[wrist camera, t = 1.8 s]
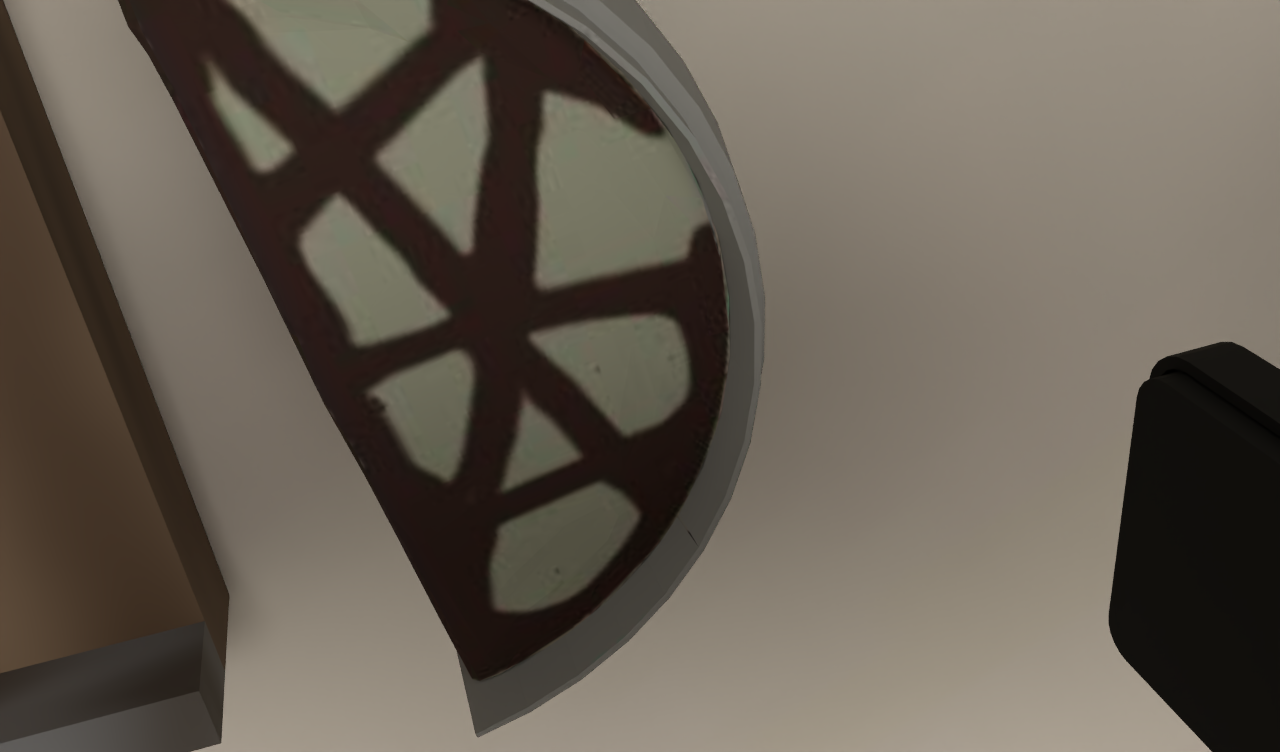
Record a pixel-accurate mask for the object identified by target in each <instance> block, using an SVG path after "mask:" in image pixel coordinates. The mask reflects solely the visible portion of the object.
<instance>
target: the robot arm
mask: <svg viewBox="0 0 1280 752" xmlns="http://www.w3.org/2000/svg"><path fill="white" fill-rule="evenodd" d="M1109 627H1110V632H1111V635H1112V638H1113V640H1114V643H1115V645H1116V647H1117V648H1118V650H1119V652H1120V653H1121V655H1122V656H1123V657H1124V659H1125V660H1126V661H1127V662H1128V663H1129V664H1130V665H1131V666H1132V667H1133V668H1134V669H1135V671H1136V672H1137V673H1138V674H1139V675H1140V676H1141V677H1142V678H1143V679H1144V680H1145V681H1146V682H1147V683H1148V684H1149V685H1150V686H1151V687H1152V689H1153V690H1154V691H1155V692H1156V693H1157V694H1158V695H1159V696H1160V697H1161V698H1162V699H1163V700H1164V701H1165V702H1166V703H1167V704H1168V705H1169V707H1170V708H1171V709H1172V710H1173V711H1174V712H1175V713H1176V714H1177V715H1178V716H1179V717H1180V718H1181V719H1182V720H1183V721H1184V722H1185V723H1186V725H1187V726H1188V727H1189V728H1190V729H1191V730H1192V731H1193V732H1194V733H1195V734H1196V735H1197V736H1198V737H1199V738H1200V739H1201V740H1202V741H1203V743H1204V744H1205V745H1206V746H1207V747H1208V748H1209V749H1210V750H1211V751H1212V752H1280V369H1278V368H1276V367H1275V366H1273V365H1272V364H1270V363H1268V362H1267V361H1265V360H1264V359H1262V358H1260V357H1259V356H1257V355H1256V354H1254V353H1252V352H1251V351H1249V350H1248V349H1246V348H1244V347H1242V346H1240V345H1238V344H1235V343H1233V342H1219V343H1216V344H1212V345H1208V346H1204V347H1201V348H1197V349H1193V350H1190V351H1186V352H1182V353H1178V354H1175V355H1171V356H1167V357H1165V358H1163V359H1161V360H1159V361H1158V362H1157V364H1156V365H1155V366H1154V368H1153V369H1152V372H1151V375H1150V379H1149V380H1147V381H1145V382H1144V383H1143V384H1142V385H1141V387H1140V388H1139V392H1138V395H1137V400H1136V408H1135V416H1134V424H1133V431H1132V439H1131V447H1130V454H1129V462H1128V470H1127V478H1126V485H1125V493H1124V501H1123V508H1122V516H1121V524H1120V532H1119V539H1118V547H1117V555H1116V562H1115V570H1114V578H1113V585H1112V593H1111V601H1110V609H1109Z"/></svg>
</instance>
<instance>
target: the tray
mask: <svg viewBox="0 0 1280 752" xmlns="http://www.w3.org/2000/svg"><path fill="white" fill-rule="evenodd" d="M228 608H229V593H228V591H227V588H226V586H225V583H224V580H223V578H222V575H221V572H220V570H219V567H218V565H217V562H216V559H215V557H214V554H213V551H212V549H211V546H210V544H209V541H208V538H207V536H206V533H205V530H204V528H203V525H202V523H201V520H200V517H199V515H198V512H197V509H196V507H195V504H194V502H193V499H192V496H191V494H190V491H189V488H188V486H187V483H186V481H185V478H184V475H183V473H182V470H181V467H180V465H179V462H178V459H177V457H176V454H175V452H174V449H173V446H172V444H171V441H170V438H169V436H168V433H167V431H166V428H165V425H164V423H163V420H162V417H161V415H160V412H159V410H158V407H157V404H156V402H155V399H154V396H153V394H152V391H151V389H150V386H149V383H148V381H147V378H146V375H145V373H144V370H143V368H142V365H141V362H140V360H139V357H138V354H137V352H136V349H135V347H134V344H133V341H132V339H131V336H130V333H129V331H128V328H127V326H126V323H125V320H124V318H123V315H122V312H121V310H120V307H119V304H118V302H117V299H116V297H115V294H114V291H113V289H112V286H111V283H110V281H109V278H108V276H107V273H106V270H105V268H104V265H103V262H102V260H101V257H100V255H99V252H98V249H97V247H96V244H95V241H94V239H93V236H92V234H91V231H90V228H89V226H88V223H87V220H86V218H85V215H84V213H83V210H82V207H81V205H80V202H79V199H78V197H77V194H76V192H75V189H74V186H73V184H72V181H71V178H70V176H69V173H68V171H67V168H66V165H65V163H64V160H63V157H62V155H61V152H60V149H59V147H58V144H57V142H56V139H55V136H54V134H53V131H52V128H51V126H50V123H49V121H48V118H47V115H46V113H45V110H44V107H43V105H42V102H41V100H40V97H39V94H38V92H37V89H36V86H35V84H34V81H33V79H32V76H31V73H30V71H29V68H28V65H27V63H26V60H25V58H24V55H23V52H22V50H21V47H20V44H19V42H18V39H17V37H16V34H15V31H14V29H13V26H12V23H11V21H10V18H9V16H8V13H7V10H6V8H5V5H4V2H3V0H0V752H191V751H194V750H198V749H201V748H205V747H209V746H212V745H216V744H220V743H221V738H222V719H223V701H224V682H225V664H226V645H227V626H228Z"/></svg>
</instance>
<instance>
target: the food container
mask: <svg viewBox="0 0 1280 752" xmlns="http://www.w3.org/2000/svg"><path fill="white" fill-rule="evenodd" d="M118 1H119V4H120V6H121V9H122V12H123V14H124V17H125V19H126V22H127V25H128V27H129V28H130V30H131V31H132V33H133V34H134V35H135V37H136V38H137V40H138V41H139V42H140V44H141V45H142V47H143V48H144V49H145V51H146V52H147V54H148V55H149V57H150V59H151V61H152V63H153V64H154V66H155V68H156V70H157V72H158V73H159V75H160V77H161V79H162V81H163V83H164V84H165V86H166V88H167V90H168V92H169V94H170V95H171V97H172V99H173V101H174V103H175V105H176V107H177V109H178V111H179V113H180V115H181V117H182V119H183V121H184V123H185V125H186V127H187V129H188V131H189V133H190V135H191V137H192V139H193V141H194V143H195V145H196V147H197V149H198V150H199V152H200V154H201V156H202V158H203V160H204V162H205V164H206V166H207V168H208V170H209V172H210V174H211V176H212V178H213V180H214V182H215V184H216V186H217V188H218V190H219V192H220V194H221V196H222V198H223V200H224V202H225V204H226V206H227V208H228V210H229V212H230V214H231V216H232V218H233V220H234V222H235V224H236V226H237V227H238V229H239V231H240V233H241V235H242V237H243V239H244V241H245V243H246V245H247V247H248V249H249V251H250V253H251V255H252V257H253V259H254V261H255V263H256V265H257V267H258V269H259V271H260V273H261V275H262V277H263V279H264V281H265V283H266V285H267V287H268V289H269V291H270V293H271V295H272V297H273V299H274V301H275V303H276V306H277V308H278V310H279V312H280V314H281V316H282V318H283V320H284V322H285V324H286V326H287V328H288V330H289V332H290V334H291V336H292V338H293V341H294V343H295V345H296V347H297V349H298V351H299V353H300V355H301V357H302V359H303V361H304V363H305V365H306V367H307V369H308V371H309V373H310V376H311V378H312V380H313V382H314V384H315V386H316V388H317V390H318V392H319V394H320V396H321V398H322V400H323V402H324V404H325V406H326V408H327V410H328V411H329V413H330V415H331V417H332V419H333V420H334V422H335V424H336V426H337V427H338V429H339V431H340V433H341V434H342V436H343V438H344V440H345V442H346V443H347V445H348V447H349V449H350V450H351V452H352V454H353V456H354V457H355V459H356V461H357V463H358V465H359V466H360V468H361V470H362V472H363V473H364V475H365V477H366V479H367V481H368V483H369V485H370V486H371V488H372V490H373V492H374V494H375V496H376V498H377V500H378V501H379V503H380V505H381V507H382V509H383V511H384V513H385V515H386V517H387V518H388V520H389V522H390V524H391V526H392V528H393V530H394V532H395V534H396V535H397V537H398V539H399V541H400V543H401V545H402V547H403V549H404V551H405V553H406V555H407V556H408V558H409V560H410V562H411V564H412V566H413V568H414V570H415V572H416V574H417V576H418V578H419V580H420V581H421V583H422V585H423V587H424V589H425V591H426V593H427V595H428V597H429V599H430V601H431V603H432V605H433V606H434V608H435V610H436V612H437V614H438V616H439V618H440V620H441V622H442V624H443V626H444V627H445V629H446V631H447V633H448V635H449V637H450V639H451V641H452V642H453V644H454V646H455V648H456V650H457V654H458V658H459V663H460V667H461V672H462V676H463V680H464V685H465V689H466V694H467V698H468V703H469V707H470V711H471V716H472V720H473V725H474V729H475V733H476V736H477V737H480V736H482V735H484V734H486V733H488V732H490V731H492V730H494V729H496V728H498V727H500V726H503V725H505V724H507V723H509V722H511V721H513V720H515V719H517V718H519V717H521V716H523V715H525V714H527V713H529V712H531V711H533V710H534V709H536V708H537V707H539V706H541V705H542V704H544V703H545V702H547V701H548V700H550V699H552V698H553V697H555V696H556V695H558V694H559V693H561V692H563V691H564V690H566V689H567V688H569V687H570V686H572V685H574V684H575V683H577V682H578V681H580V680H581V679H583V678H584V677H585V676H586V675H588V674H589V673H590V672H591V671H593V670H594V669H595V668H596V667H597V666H599V665H600V664H601V663H602V662H604V661H605V660H606V659H607V658H608V657H610V656H611V655H612V654H613V653H615V652H616V651H617V650H618V649H619V648H621V647H622V646H623V645H624V644H626V643H627V642H628V641H629V640H630V639H631V638H632V637H633V636H634V635H635V634H636V633H637V632H638V630H639V629H640V628H641V627H642V626H643V625H644V624H645V623H646V622H647V621H648V620H649V619H650V618H651V617H652V616H653V615H654V614H655V613H656V611H657V610H658V609H659V608H660V607H661V606H662V605H663V604H664V603H665V602H666V601H667V600H668V599H669V598H670V596H671V595H672V594H673V592H674V591H675V589H676V588H677V587H678V585H679V584H680V582H681V581H682V580H683V578H684V577H685V576H686V574H687V573H688V571H689V570H690V569H691V567H692V566H693V564H694V563H695V562H696V560H697V559H698V558H699V556H700V555H701V553H702V552H703V551H704V549H705V547H706V545H707V543H708V541H709V539H710V537H711V535H712V534H713V532H714V530H715V528H716V526H717V524H718V522H719V520H720V518H721V516H722V515H723V513H724V511H725V509H726V507H727V505H728V503H729V501H730V499H731V497H732V494H733V491H734V488H735V485H736V483H737V480H738V477H739V474H740V471H741V468H742V465H743V462H744V459H745V457H746V454H747V451H748V448H749V445H750V442H751V436H752V430H753V424H754V419H755V413H756V407H757V402H758V396H759V390H760V385H761V373H762V367H763V362H764V322H765V295H764V288H763V282H762V275H761V269H760V263H759V256H758V250H757V243H756V237H755V232H754V229H753V226H752V223H751V220H750V217H749V214H748V211H747V208H746V205H745V202H744V198H743V195H742V192H741V189H740V186H739V183H738V180H737V178H736V175H735V172H734V169H733V166H732V163H731V160H730V157H729V154H728V152H727V149H726V146H725V143H724V140H723V137H722V134H721V131H720V128H719V126H718V123H717V121H716V119H715V117H714V115H713V114H712V112H711V110H710V108H709V106H708V104H707V103H706V101H705V99H704V97H703V95H702V93H701V92H700V90H699V88H698V86H697V84H696V83H695V81H694V79H693V77H692V75H691V73H690V72H689V70H688V68H687V66H686V64H685V63H684V61H683V59H682V58H681V57H680V56H679V54H678V53H677V52H676V51H675V49H674V48H673V47H672V46H671V44H670V43H669V42H668V41H667V39H666V38H665V37H664V36H663V34H662V33H661V32H660V30H659V29H658V28H657V27H656V25H655V24H654V23H653V22H652V20H651V19H650V18H649V17H648V15H647V14H646V13H645V12H644V10H643V9H642V8H641V7H640V5H639V4H638V3H637V2H636V1H635V0H118Z"/></svg>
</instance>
